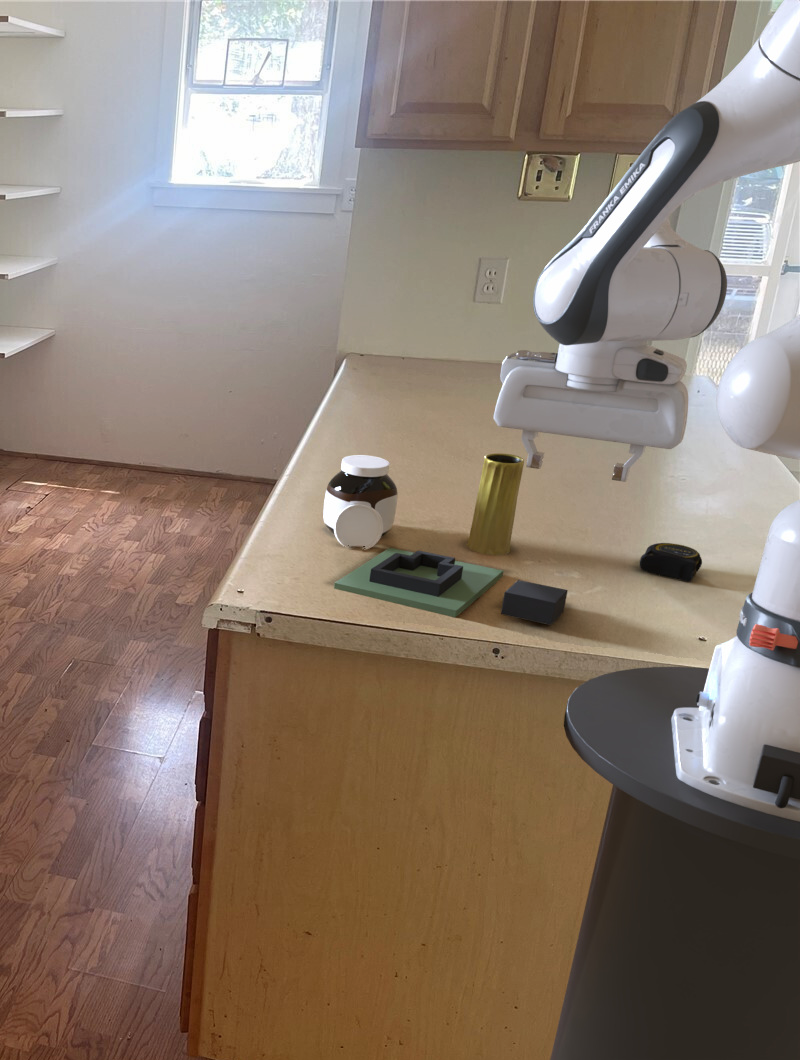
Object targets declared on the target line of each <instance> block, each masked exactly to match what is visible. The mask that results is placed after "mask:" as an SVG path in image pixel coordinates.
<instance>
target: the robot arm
mask: <svg viewBox="0 0 800 1060" xmlns="http://www.w3.org/2000/svg"><path fill="white" fill-rule="evenodd" d="M799 162H800V0H783V1H782V2H781V4H780V5H779V6H778V8H777V9H776V10H775V12H774V13H773V15H772V17H770V19H769V21H768V22H767V24H766V25H765V27H764V28H763V30H762V31H761V33H760V35H759V36H758V38H757V40H756V41H755V43H754V44H753V45H752V47H751V48H750V49H749V50H748V51H747V53H746V54H745V55H744V57H742V59H741V60H740V61H739V63H737V64H736V66H735V67H734V68H733V69H732V70H731V71H730V72H729V73H728V74H727V75H726V76H725V77H724V78H722V80H721V81H720V82H718V83H717V85H715V86H714V87H713V88H712V89H711V90H710V91H709V92H707V93H706V94H705V95H703V96H702V97H701V98H700V99H698V100H697V101H696V102H694V103H692V104H691V105H689V106H687V107H686V108H684V109H682V110H681V111H679V112H678V113H676V114H675V115H674V116H672V118H671V119H670V120H668V122H667V123H666V124H665V125H664V126H663V127H662V128H661V129H660V130H659V131H658V133H657V134H656V135H655V136H654V137H653V138H652V139H651V141H650V142H649V144H647V146H645V148H644V150H643V151H642V152H641V153H640V155H638V157H637V158H636V160H635V161H634V162H633V163H632V164H631V166H630V167H629V168H628V170H627V171H626V172H625V174H623V176H622V178H620V180H619V181H618V183H617V184H616V185H615V187H613V189H612V190H611V192H610V193H609V194H608V196H607V197H606V198H605V199H604V201H603V202H602V203H601V204H600V205H599V207H598V208H597V210H596V211H595V212H594V214H592V216H591V217H590V219H589V220H588V221H587V223H586V224H585V225H584V226H583V227H582V229H581V230H580V231H579V232H578V234H576V236H575V237H574V238H573V239H571V240H570V242H569V243H567V244H566V245H565V246H564V247H563V248H562V249H560V251H559V252H557V254H555V255H554V256H553V258H552V259H550V261H549V262H548V263H547V265H546V266H545V267H544V269H543V270H542V271H541V273H540V274H539V276H538V279H537V282H536V284H535V286H534V291H533V295H532V296H533V297H532V306H533V312H534V315H535V318H536V319H537V321H538V323H539V324H540V326H541V327H542V328H543V330H544V331H545V332H546V333H547V334H548V335H549V336H550V337H551V338H552V339H554V341H556V342H557V343H559V345H558V351H557V352H549V351H547V352H546V351H531V350H528V349H527V350H526V349H520V350H517V351H516V352H513V353H510V354H508V355H507V356H506V357H505V358H504V359H503V360H502V363H501V365H500V373H499V381H500V382H501V384H502V386H501V388H500V390H499V394H498V397H497V400H496V404H495V409H494V413H493V420H494V422H495V424H496V425H497V426H498V427H499V428H506V429H512V430H520V431H522V433H521V442H522V444H523V447H524V449H525V451H526V453H527V454H528V455H527V460H526V466H525V467H526V468H529V469H536V470H540V469H541V468H542V466H543V463H544V462H543V459H544V456H545V452H543V451H538V448H537V446H536V444H535V441H534V440H535V439H536V438H537V437H538V436H539V433H542V434H551V435H558V436H565V437H573V438H580V439H581V438H582V439H588V440H589V439H590V440H596V441H604V442H612V443H620V444H626V445H629V450H628V453H629V454H630V455H631V456H630V457H629V459H628V460H627V461H626V462H625V463H621V462H619V463H618V462H616V463H615V465H614V466H613V474H612V477H611V480H612V481H617V482H623V483H626V482H627V480H628V478H629V475H630V470H631V467H632V466H633V465H634V464H635V463H636V462H637V461H638V460H639V459H640V458H641V457H642V456H643V454H644V453H645V452H646V449H647V448H646V447H649V448H656V449H665V450H672V449H674V448H676V447H677V446H678V445H680V444H681V443H682V442H683V440H684V437H685V434H686V427H687V423H688V413H689V391H688V388H687V387H686V384H684V382H683V381H681V380H682V379H683V378H684V377H685V374H686V372H687V367H688V363H687V360H686V359H685V358H683V357H682V356H679V355H676V354H674V353H671V352H668V351H666V350H663V349H661V348H657V347H656V346H653V345H650V344H648V341H679V340H685V339H690V338H695V337H698V336H699V335H701V334H702V333H704V332H705V331H706V330H707V329H708V328H709V327H711V325H712V324H713V323H714V322H715V321H716V319H718V318H717V317H719V315H720V313H721V310H722V309H723V307H724V305H725V304H724V303H725V300H726V296H727V290H728V278H727V277H728V276H727V273H726V270H725V267H724V264H723V263H722V261H721V260H720V259H719V258H718V256H717V255H716V254H714V253H713V252H712V251H710V250H708V249H702V248H699V247H698V246H696V245H694V244H692V243H691V242H688V241H687V240H685V238H683V237H682V236H680V235H678V233H676V231H674V230H673V228H672V226H671V220H670V218H669V217H670V216H671V215H673V213H674V212H675V210H676V209H678V208H679V207H680V206H681V205H682V204H683V203H685V202H686V201H688V200H689V199H690V198H692V197H694V196H695V195H697V194H700V193H701V192H703V191H705V190H708V189H710V188H712V187H715V186H718V185H719V184H723V183H725V182H728V181H731V180H735V179H737V178H740V177H744V176H747V175H750V174H754V173H758V172H762V171H766V170H770V169H775V168H780V167H784V166H788V165H792V164H797V163H799ZM514 357H515V358H514ZM716 410H717V416H718V419H719V422H720V424H721V426H722V428H723V430H724V432H725V433H726V435H727V436H728V438H729V439H730V440H731V441H732V442H733V443H734V444H735V445H736V446H738V447H741V448H743V449H746V450H749V451H750V450H751V451H753V452H759V453H764V454H767V455H771V456H776V457H780V458H781V457H782V458H787V459H792V460H797V461H798V460H800V313H799V314H798V315H797V316H795V317H794V318H793V319H791V320H789V321H787V322H786V323H784V324H783V325H781V326H780V327H777V328H776V329H774V330H772V331H770V332H768V333H766V334H764V335H763V334H762V336H759V337H757V338H755V339H753V340H750V341H749V342H747V343H746V344H745V345H744V346H742V348H741V349H740V350H739V351H737V353H735V355H734V356H732V358H731V359H730V360H729V362H728V364H727V365H726V367H725V369H724V370H723V372H722V374H721V377H720V379H719V382H718V386H717V391H716ZM760 559H761V560H760V563H759V567H758V571H757V575H756V579H755V582H754V586H753V589H752V592H750V593H748V594H747V595H746V597H745V600H744V603H743V605H742V606H741V608H740V612H739V615H738V616H739V620H738V624H737V628H736V635H735V636H734V637H733V638H731V639H728V640H726V641H724V642H722V643H719V644H717V645H716V646H715V648H714V650H713V654H712V658H711V661H710V665H709V672H708V676H707V680H706V684H705V687H704V691H703V692H700V693H699V694H697V698H696V702H697V705H698V706H699V708H677V709H675V710H674V713H673V716H672V718H671V722H672V733H673V744H674V755H675V766H676V775H677V778H678V779H679V780H681V781H683V782H684V783H686V784H688V785H690V786H692V787H694V788H696V789H698V790H700V791H702V792H705V793H707V794H710V795H712V796H715V797H717V798H720V799H723V800H725V801H728V802H731V803H734V804H737V805H740V806H744V807H747V808H750V809H754V810H757V811H760V812H764V813H767V814H771V815H775V816H778V817H782V818H786V819H790V820H794V821H798V822H800V499H798V500H795V501H794V502H792V503H790V504H788V505H786V506H785V507H784V508H783V509H782V510H781V511H780V512H779V513H778V514H777V515H776V516H775V517H774V519H773V520H772V522H771V524H770V527H769V529H768V533H767V536H766V539H765V544H764V548H763V552H762V555H761V558H760Z"/></svg>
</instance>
